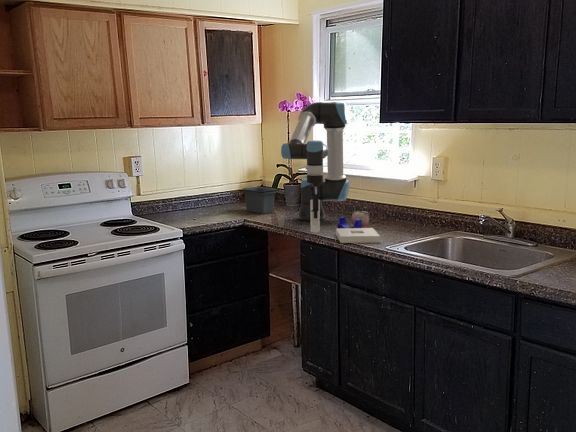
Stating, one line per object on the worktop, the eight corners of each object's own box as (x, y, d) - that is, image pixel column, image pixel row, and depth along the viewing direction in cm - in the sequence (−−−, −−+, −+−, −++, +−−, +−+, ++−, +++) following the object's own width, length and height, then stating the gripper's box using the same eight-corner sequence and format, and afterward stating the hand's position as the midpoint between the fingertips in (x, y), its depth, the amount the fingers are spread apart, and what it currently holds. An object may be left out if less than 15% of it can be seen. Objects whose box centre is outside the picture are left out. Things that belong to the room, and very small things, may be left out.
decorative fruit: (370, 227, 287) (370, 208, 285) (368, 230, 279) (368, 210, 277) (352, 226, 289) (352, 207, 287) (349, 229, 281) (350, 210, 279)
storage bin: (240, 211, 339) (239, 187, 336) (260, 208, 349) (259, 185, 346) (261, 215, 323) (261, 191, 320) (282, 212, 333) (281, 188, 330)
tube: (317, 232, 258) (317, 201, 255) (309, 232, 260) (308, 200, 257) (320, 230, 262) (320, 199, 259) (312, 230, 263) (312, 199, 260)
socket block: (336, 234, 270) (336, 228, 269) (372, 234, 270) (372, 227, 270) (340, 242, 252) (340, 236, 252) (379, 242, 253) (379, 235, 252)
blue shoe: (337, 229, 283) (337, 217, 282) (343, 228, 286) (343, 216, 285) (355, 232, 275) (355, 220, 273) (361, 231, 278) (361, 219, 277)
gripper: (305, 172, 264) (305, 220, 268) (307, 176, 247) (308, 228, 251) (321, 172, 264) (321, 220, 268) (324, 176, 247) (324, 227, 251)
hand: (315, 223), depth 260 cm, fingers closed on tube, 4 cm apart
